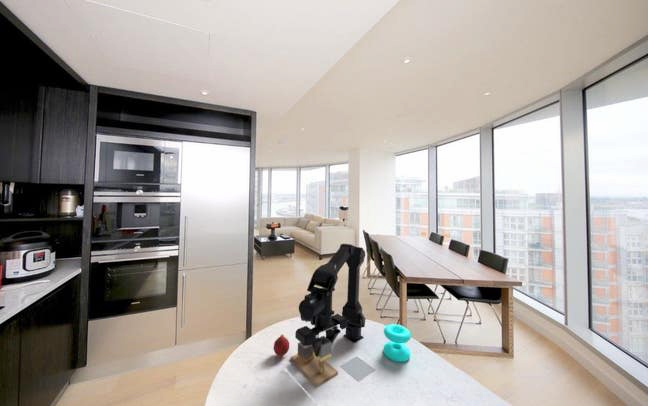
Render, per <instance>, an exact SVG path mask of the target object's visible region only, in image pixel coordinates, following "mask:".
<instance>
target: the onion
mask: <svg viewBox="0 0 648 406" xmlns="http://www.w3.org/2000/svg"><path fill="white" fill-rule="evenodd" d="M289 350H290V342H289V340H288V338H287V337H286V336H285V335H284V334H282V333H281V334H280V336H278V338H277V339H276V340H275V341H274V343H273V351H274V353H275V355H276V356H278V357H283V356H285V355H286V354H287V353H288V352H289Z"/></svg>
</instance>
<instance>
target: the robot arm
mask: <svg viewBox="0 0 648 406" xmlns="http://www.w3.org/2000/svg"><path fill="white" fill-rule="evenodd" d="M365 257H366V250H365V249H364V248H363V247H361V246H360V247H359V246H355V245H353V244H350V243H340V245H339V248H338V250H337V251H336V252H335V253H334V254H333V255H332V257H331V258H330V259H329V260H328V261H327V262H326V263H325V264H321V265H320V266H319V267H317V268H316V269H315V270H314V271H313V273H312V276H311V279H310V282H309V284H308V287H307V290H306V291H307V292H309V293H308V294H305V295H304V299H303V300H301V301H300V302H299V305H298V312H299V314H300V319H301V321H303V322H306V323H310V325H311V326H314V327H312V328H310V327H308V326H307V325H305V326H301V327H299V328H297V329H296V330H295V334H294V335H295V337H294V338H295V339H296V340H297V341H298V342H301V343H302V344H303V345H305V346H307V345H309V344H312V347H313V350H314V353H315V356H316V357H318V355H319V351H320V346H321V341H322V340H321V339H320V338H319V337H320V334H321V333H323V332H325V337H326V338H327V339H329V340H330V341H331V342H332V345H333V344H334V342H335V340H336V339H337V337H339V334H340V333H341V330H344V329H345V333H344V335H343V338H345V339H347V340H348V341H350V342H352V344H356V343H357V342H359V341H361V340H363V339H364V338H365V337H364V335H363V336H362V328H365V327H366V319H367V318H366V317H365V315H364V314H363V307H362V305H361V303H360V301H359V298H360V297H359V295H360V294H359V293H360V270H361V269H360V268H361V267H362V265H363V264H364V261H365ZM344 264H346V265H347V268H348V273H347V300H346V302H345V304H344V305H343V306H342V308H341V309H342V311H341V314H339V313H336V314H335V310H333V292H335V291H336V288H335V286H336V284H337V282H338V278H339V276H338V274H339V272H340V270H341V268H343V266H344ZM338 325H339V327H338ZM339 328H340V329H341V330H340V329H339Z"/></svg>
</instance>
